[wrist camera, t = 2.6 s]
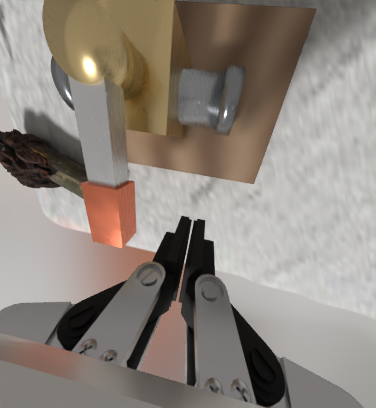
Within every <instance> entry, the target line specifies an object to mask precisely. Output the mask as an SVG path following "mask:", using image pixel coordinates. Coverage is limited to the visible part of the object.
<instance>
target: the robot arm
mask: <svg viewBox="0 0 376 408" xmlns="http://www.w3.org/2000/svg"><path fill="white" fill-rule="evenodd" d="M191 222H192V220H190V219H189V217H185V216H181V219H180V221H179V224H178V227H177V229H176V232H175V233H171V232H166V234H165V236H164V238H163V240H162V242H161V244H160V246H159V248H158V250H157V252H156V255H155V257H154V259H153V261H152V262H146V263H143V264H141V265H140V266H139V267H138V268H137V269H136V270H135V271H134V272H133V273H132V275H131V276H130V277H129V279H128V280H126V281H124V282H122V283H119V284H117V285H115V286H113V287H111V288H109V289H106V290H104V291H102V292H100V293H98V294H95V295H93V296H91V297H89V298H87V299H85V300H82V301H81V302H79V303H77V304H71V302H50V303H49V302H48V303H47V302H44V303H19V304H14V305H11V306H9V307H6V308H4V309H2V310H1V311H0V408H363V407H362V405H361V404H360V403H359V402H358V401H357V400H356V399H355V398H354V397H353V396H352V395H351V394H349V393H348V392H346V391H345V390H343V389H342V388H340V387H338V386H337V385H335V384H333V383H331V382H329V381H327V380H326V379H324V378H322V377H320V376H318V375H316V374H314V373H313V372H311V371H309V370H307V369H305V368H303V367H301V366H299V365H297V364H296V363H294V362H292V361H290V360H288V359H286V358H285V357H282V358H279V357H277V356H275V354H274V353H273V352H272V350H271V349H270V348H269V347H268V346H267V344H266V343H265V342H264V341H263V340H262V339H261V338H260V336H259V335H258V334H257V333H256V332H255V331H254V330H253V328H252V327H251V326H250V325H249V324H248V323H247V322H246V320H245V319H244V318H243V317H242V316H241V315H240V314H239V312H238V311H237V310H236V309H235V308H234V307H233V305H232V304H231V303H230V300H229V296H228V293H227V290H226V287H225V285H224V283H223V282H222V281H221V280H220V279H219V278H218V277H216V276H215V266H214V242H213V241H210V240H205V239H204V231H205V220H201V219H197V221H195V220H194V224H193V229H192V234H191V239H190V244H189V249H188V254H187V259H186V264H185V270H184V275H183V280H182V286H181V291H180V297H179V302H181V303H182V308H181V314H182V316H183V317H184V319H185V321H186V337H185V340H186V341H185V384H183V383H179V382H176V381H172V380H169V379H165V378H162V377H159V376H155V375H152V374H148V373H145V372H141V371H139V369H140V366H141V364H142V361H143V359H144V357H145V354H146V352H147V350H148V347H149V345H150V342H151V340H152V338H153V335H154V333H155V330H156V328H157V325H158V323H159V321H160V318H161V315H162V314H164V313H165V312H167V311H168V310H169V307H171V302H172V300H173V301H176V297H177V292H178V288H179V283H180V278H181V274H182V269H183V264H184V260H185V255H186V250H187V245H188V239H189V233H190V227H191Z"/></svg>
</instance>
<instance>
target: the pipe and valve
mask: <svg viewBox="0 0 376 408" xmlns="http://www.w3.org/2000/svg"><path fill="white" fill-rule="evenodd" d="M98 1H99V2H100V4H101V5H102V6H103V7H104V9H105V10H106V11H107V12H108V14H109V15H110V16H111V17H112V18H113V20H114V21H115V22H116V23H117V25H118V26H119V27H120V28H121V30H122V31H123V32H124V33H125V35H126V36H127V37H128V38H129V39H130V41H131V42H132V43H133V44H134V46H135V47H136V48H137V50H138V52H139V54H140V56H141V59H142V63H143V70H144V77H143V83H142V86H141V89H140V91H139V92H138V94H137V95H136V96H135V97H134V98H132V99H130V100H125V101H124V107H125V125H126V130H133V131H139V132H146V133H153V134H159V135H166V136H173V137H180V138H184V131H185V126H193V127H200V128H207V129H214V130H215V134H218V135H225V136H229V134H230V131H231V128H232V125H233V122H234V119H235V115H236V112H237V108H238V104H239V100H240V96H241V92H242V87H243V83H244V78H245V71H246V66H238V65H228V67H227V71H217V70H207V69H197V68H191V67H192V63H191V59H190V56H189V52H188V48H187V45H186V41H185V37H184V34H183V30H182V26H181V23H180V19H179V15H178V11H177V8H176V4H175V0H98ZM51 72H52V77H53V80H54V83H55V86H56V88H57V90H58V92H59V94H60V95H61V97H62V99H63V100H64V101H65V102H66V104H67V105H68V106H69V107H70V108H71V109H72V110H74V105H73V99H72V94H71V89H70V83H69V78H68V75H67V74H66V73H65V72H64V71H63V70H62V69H61V68H60V66H59V65H58V64H57V62H56V60H55V59H54V57H53V56H52V59H51ZM74 111H75V110H74Z"/></svg>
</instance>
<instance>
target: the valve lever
mask: <svg viewBox="0 0 376 408" xmlns="http://www.w3.org/2000/svg"><path fill="white" fill-rule="evenodd" d="M43 27H44V33H45V37H46V41H47V43H48V46H49V49H50V51H51V53H52V55H53V57H54V59H55V60H56V62H57V64H58V65H59V66H60V68H61V69H62V70H63V71H64V72H65V73H66V74H67V75H68V78H69V83H70V89H71V94H72V99H73V105H74V110H75V115H76V120H77V126H78V131H79V136H80V141H81V147H82V152H83V157H84V163H85V168H86V173H87V178H88V181H86V182H83V183H81V188H82V192H83V197H84V202H85V206H86V211H87V215H88V220H89V225H90V229H91V234H92V239H93V241H94V242H99V243H103V244H107V245H112V246H115V247H120V248H123V247H124V246H125V245H126V243H127V242H128V241H129V240H130V239H131V238H132V236H133V235H134V234H135V233H136V213H135V186H134V181H129V178H128V161H127V143H126V125H125V107H124V101H125V100H130V99H132V98H134V97H135V96H136V95H137V94H138V92H139V91H140V89H141V86H142V83H143V77H144V70H143V63H142V59H141V56H140V54H139V52H138V50H137V48H136V47H135V46H134V44H133V43H132V42H131V41H130V39H129V38H128V37H127V36H126V35H125V33H124V32H123V31H122V30H121V28H120V27H119V26H118V25H117V23H116V22H115V21H114V20H113V18H112V17H111V16H110V15H109V14H108V12H107V11H106V10H105V9H104V7H103V6H102V5H101V4H100V2H99V1H98V0H44V5H43Z"/></svg>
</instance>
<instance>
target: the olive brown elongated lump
mask: <svg viewBox="0 0 376 408" xmlns="http://www.w3.org/2000/svg"><path fill="white" fill-rule="evenodd" d="M0 163H1V164H2V165H3V167H4V168H5V169H7V172H10V173H11V175H12V176H14V177H15V178H17V179H18V181H19V182H20V183H21V184H23V185H25V186H27V187H31V188H40V187H46V188H56V187H61V186H62V187H64V188H66V189H68V190H69V191H71V192H73V193H75V194H76V195H78V196H80V197H81V198H83V199H84V197H83V192H82V188H81V183H83V182H86V181H88V178H87V173H86V168H85V167H83V166H82V165H80V164H78V163H76V162H74V161H72V160H70V159H68V158H66V157H64V156H63V155H61V154H59V153H57V152H55V151H53V150H52V149H51V148H50V147H49V146H48V145H47V144H46V143H45V141H44V140H43V139H40V138H39V137H36V136H34V135H32V134H21V132H19V131H18V130H15V129H13V131H11V132H5V133H4V132H1V131H0Z"/></svg>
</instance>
